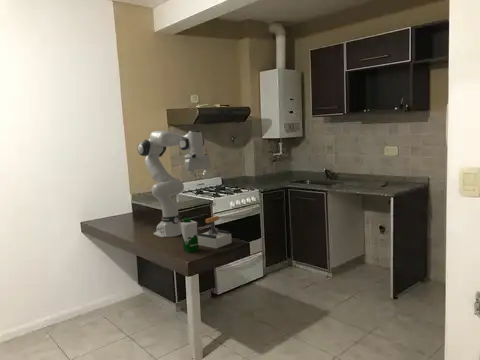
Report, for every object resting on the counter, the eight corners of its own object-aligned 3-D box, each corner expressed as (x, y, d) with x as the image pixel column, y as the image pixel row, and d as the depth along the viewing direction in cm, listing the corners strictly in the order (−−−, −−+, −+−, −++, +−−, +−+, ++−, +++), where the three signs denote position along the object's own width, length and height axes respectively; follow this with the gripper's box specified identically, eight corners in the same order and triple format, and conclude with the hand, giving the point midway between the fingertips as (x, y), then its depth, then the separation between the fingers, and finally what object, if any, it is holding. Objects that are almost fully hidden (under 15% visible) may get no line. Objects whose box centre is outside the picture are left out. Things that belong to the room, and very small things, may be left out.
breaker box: (196, 244, 260) (195, 230, 259) (212, 239, 270) (211, 225, 269) (216, 248, 248) (215, 233, 247) (231, 242, 258) (230, 228, 257)
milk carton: (194, 247, 254) (191, 216, 251) (201, 250, 247) (198, 218, 244) (181, 250, 249) (178, 219, 246) (188, 253, 242) (185, 221, 239)
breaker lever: (206, 235, 255) (205, 219, 254) (217, 231, 263) (216, 215, 261) (208, 235, 254) (207, 219, 253) (219, 231, 261) (218, 216, 260)
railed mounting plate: (197, 235, 259) (197, 233, 259) (212, 230, 269) (212, 228, 268) (214, 238, 248) (214, 236, 248) (229, 233, 258) (229, 231, 258)
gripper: (205, 153, 270) (207, 173, 271) (182, 156, 255) (184, 178, 256) (212, 153, 266) (214, 173, 267) (188, 156, 250) (191, 178, 252)
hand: (199, 175), depth 262 cm, fingers open, 8 cm apart
